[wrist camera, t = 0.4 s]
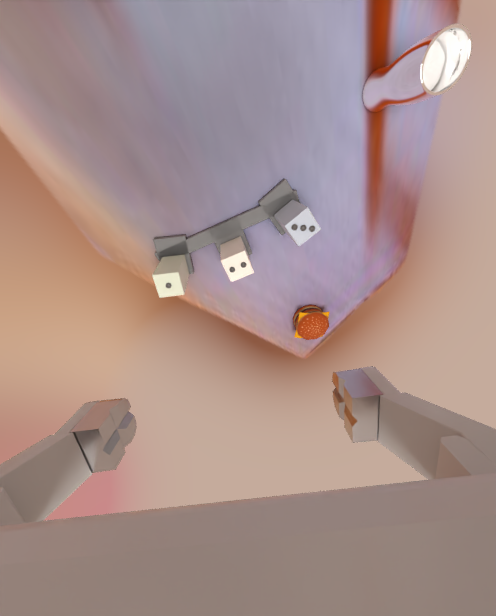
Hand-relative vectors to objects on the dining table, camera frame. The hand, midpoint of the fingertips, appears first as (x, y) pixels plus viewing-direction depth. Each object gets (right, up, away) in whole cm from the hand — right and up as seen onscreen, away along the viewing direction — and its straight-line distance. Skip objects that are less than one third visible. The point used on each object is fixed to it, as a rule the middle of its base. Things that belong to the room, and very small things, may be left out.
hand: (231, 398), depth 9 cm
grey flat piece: (-4, +21, +44) cm, 49 cm away
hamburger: (+18, +1, +60) cm, 63 cm away
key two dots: (-2, +17, +45) cm, 48 cm away
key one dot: (-16, +13, +45) cm, 50 cm away
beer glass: (+25, +44, +33) cm, 60 cm away
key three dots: (+10, +24, +42) cm, 49 cm away
